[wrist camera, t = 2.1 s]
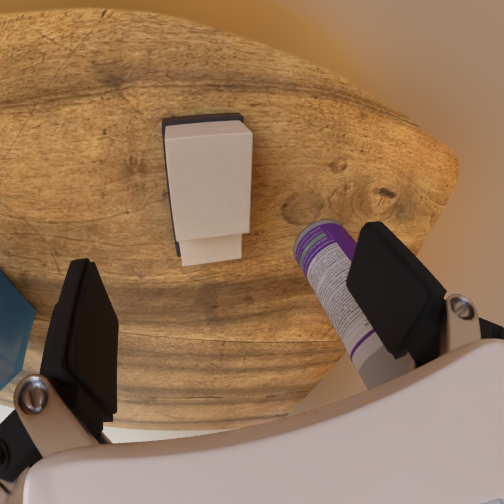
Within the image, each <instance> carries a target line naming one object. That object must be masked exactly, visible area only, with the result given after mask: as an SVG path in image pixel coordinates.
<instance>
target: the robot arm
mask: <svg viewBox="0 0 504 504" xmlns="http://www.w3.org/2000/svg"><path fill="white" fill-rule="evenodd" d="M346 286H347V289H348V291H349V292H350V294H351V295H352V297H353V298H354V300H355V301H356V303H357V304H358V306H359V307H360V309H361V310H362V312H363V313H364V315H365V316H366V318H367V320H368V321H369V323H370V324H371V326H372V327H373V329H374V330H375V332H376V334H377V335H378V337H379V338H380V340H381V342H382V343H383V345H384V346H385V348H386V350H387V351H388V352H389V353H391V354H392V355H393V356H394V358H395V360H396V359H399V358H401V357H403V356H405V355H406V354H407V353H409V354H410V364H409V372H408V373H406V374H404V375H402V376H400V377H398V378H396V379H393V380H391V381H389V382H386V383H384V384H382V385H379V386H377V387H375V388H372V389H370V390H367V391H365V392H362V393H360V394H357V395H354V396H352V397H349V398H346V399H344V400H341V401H338V402H335V403H332V404H329V405H326V406H323V407H320V408H317V409H314V410H311V411H308V412H304V413H301V414H297V415H294V416H290V417H287V418H283V419H279V420H275V421H271V422H267V423H263V424H259V425H254V426H250V427H245V428H240V429H236V430H230V431H225V432H219V433H213V434H207V435H200V436H193V437H185V438H177V439H168V440H160V441H159V440H158V441H148V442H131V443H116V444H113V443H112V442H111V441H110V440H109V439H108V438H107V437H106V436H105V434H104V433H103V432H102V430H103V422H113V414H115V413H116V412H117V347H118V328H119V325H118V319H117V316H116V314H115V311H114V309H113V307H112V305H111V302H110V300H109V297H108V295H107V293H106V290H105V288H104V285H103V283H102V280H101V277H100V275H99V272H98V269H97V267H96V264H95V263H94V262H90V260H89V259H88V258H85V259H78V260H72V261H71V263H70V265H69V268H68V271H67V275H66V278H65V281H64V284H63V287H62V291H61V294H60V298H59V301H58V303H57V304H56V305H55V307H54V310H53V313H52V317H51V321H50V325H49V329H48V333H47V338H46V342H45V347H44V352H43V357H42V362H41V368H40V374H31V375H28V376H26V377H25V378H23V379H22V380H21V381H20V382H19V383H18V385H17V387H16V389H15V392H14V396H13V398H14V406H15V410H14V411H13V412H12V413H11V414H10V415H9V416H8V417H7V418H6V419H5V420H4V421H3V422H2V423H1V424H0V504H504V328H503V327H502V326H499V325H497V324H494V323H491V322H489V321H487V320H484V319H482V318H479V317H478V313H477V310H476V308H475V306H474V304H473V303H472V302H471V301H470V300H469V299H468V298H466V297H465V296H462V295H460V294H451V295H450V296H448V298H447V299H446V300H445V299H444V298H443V297H444V296H445V294H446V292H447V291H446V290H445V288H444V287H443V286H442V285H441V284H440V283H439V281H438V280H437V279H436V278H435V277H434V276H433V275H432V274H431V272H429V270H428V269H427V268H426V267H425V266H424V265H423V264H422V263H421V262H420V261H419V259H418V258H417V257H416V256H415V255H414V254H413V253H412V252H411V251H410V250H409V249H408V248H407V247H406V246H405V245H404V244H403V243H402V242H401V241H400V240H399V239H398V238H397V237H396V236H395V235H394V234H393V233H392V232H391V231H390V230H389V229H388V228H387V227H386V226H385V225H384V224H383V223H382V222H380V221H376V222H367V223H366V224H365V225H364V227H362V228H361V231H360V234H359V238H358V242H357V245H356V249H355V252H354V256H353V259H352V262H351V266H350V269H349V272H348V276H347V279H346Z"/></svg>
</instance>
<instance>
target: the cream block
mask: <svg viewBox="0 0 504 504" xmlns="http://www.w3.org/2000/svg"><path fill="white" fill-rule="evenodd" d="M162 135H163V147H164V158H165V168H166V177H167V186H168V194H169V203H170V210H171V218H172V225H173V232H174V239H175V245H176V252H177V256H178V257H181V259H182V265H183V266H190V265H197V264H204V263H212V262H219V261H226V260H233V259H240V258H242V234H243V233H249V232H250V208H251V178H252V148H253V132H251V131H250V130H249V129H248V128H247V127H246V126H245V125H244V124H243V116H242V115H241V114H239V113H222V114H206V115H193V116H182V117H173V118H164V119H162Z"/></svg>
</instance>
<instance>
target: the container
mask: <svg viewBox="0 0 504 504" xmlns="http://www.w3.org/2000/svg"><path fill="white" fill-rule="evenodd" d="M356 245H357V243H356V242H355V241H354V239H353V238H352V237H351V236H350V235H349V234H348V232H347V231H346V230H345V229H344V228H343V227H342V226H341V225H340V224H339V223H338V222H336V221H333V220H322V221H318V222H315V223H313V224H311V225H310V226H308V227H307V228H306V229H304V230H303V231H302V233H301V234H300V235H299V236H298V238H297V240H296V242H295V245H294V256H295V258H296V260H297V262H298V264H299V266H300V267H301V269H302V271H303V273H304V274H305V276H306V278H307V280H308V281H309V283H310V285H311V287H312V289H313V290H314V292H315V294H316V296H317V298H318V299H319V301H320V303H321V305H322V307H323V308H324V310H325V312H326V314H327V316H328V318H329V319H330V321H331V323H332V325H333V327H334V329H335V330H336V332H337V334H338V336H339V338H340V340H341V342H342V344H343V345H344V347H345V349H346V351H347V353H348V355H349V357H350V359H351V361H352V362H353V364H354V366H355V367H356V369H357V371H358V373H359V375H360V376H361V378H362V380H363V382H364V384H365V385H366V387H367V389H368V390H370V389H372V388H375V387H377V386H379V385H382V384H384V383H386V382H389V381H391V380H393V379H396V378H398V377H400V376H402V375H404V374H406V373H408V372H409V364H410V354H409V353H407V354H406V355H405V356H403V357H401V358H399V359H396V360H395V358H394V356H393V355H392V354H391V353H389V352H388V351H387V350H386V348H385V346H384V345H383V343H382V342H381V340H380V338H379V337H378V335H377V334H376V332H375V330H374V329H373V327H372V326H371V324H370V323H369V321H368V320H367V318H366V316H365V315H364V313H363V312H362V310H361V309H360V307H359V306H358V304H357V303H356V301H355V300H354V298H353V297H352V295H351V294H350V292H349V291H348V289H347V286H346V279H347V276H348V272H349V269H350V266H351V262H352V259H353V256H354V252H355V249H356Z"/></svg>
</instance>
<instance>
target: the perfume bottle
mask: <svg viewBox="0 0 504 504" xmlns="http://www.w3.org/2000/svg"><path fill="white" fill-rule="evenodd" d="M35 314H36V310H35V309H34V308H33V307H32V306H31V305H30V303H29V302H28V301H27V300H26V299H25V298H24V297H23V296H22V295H21V293H20V292H19V291H18V290H17V289H16V288H15V287H14V285H13V284H12V283H11V282H10V281H9V279H8V278H7V277H6V276H5V275H4V273H3V272H2V271H1V270H0V391H1V390H2V389H3V388H4V387H5V386H6V385H7V384H8V383H9V382H10V381H11V380H12V379H13V378H14V377H15V376H16V375H17V374H18V373H19V372H20V371H21V370H22V368H23V363H24V358H25V353H26V349H27V344H28V340H29V336H30V332H31V328H32V325H33V321H34V317H35Z"/></svg>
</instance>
